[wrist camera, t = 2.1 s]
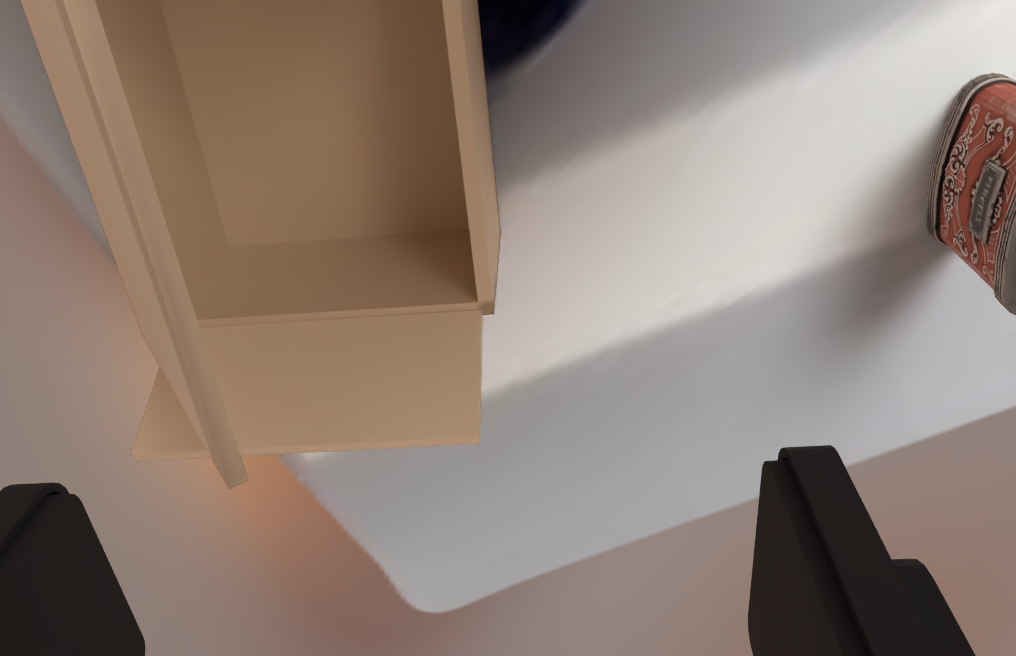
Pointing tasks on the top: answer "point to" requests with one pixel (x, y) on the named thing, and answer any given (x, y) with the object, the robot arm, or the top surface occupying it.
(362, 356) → the carton
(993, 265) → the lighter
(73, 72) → the lid flap
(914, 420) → the top surface
